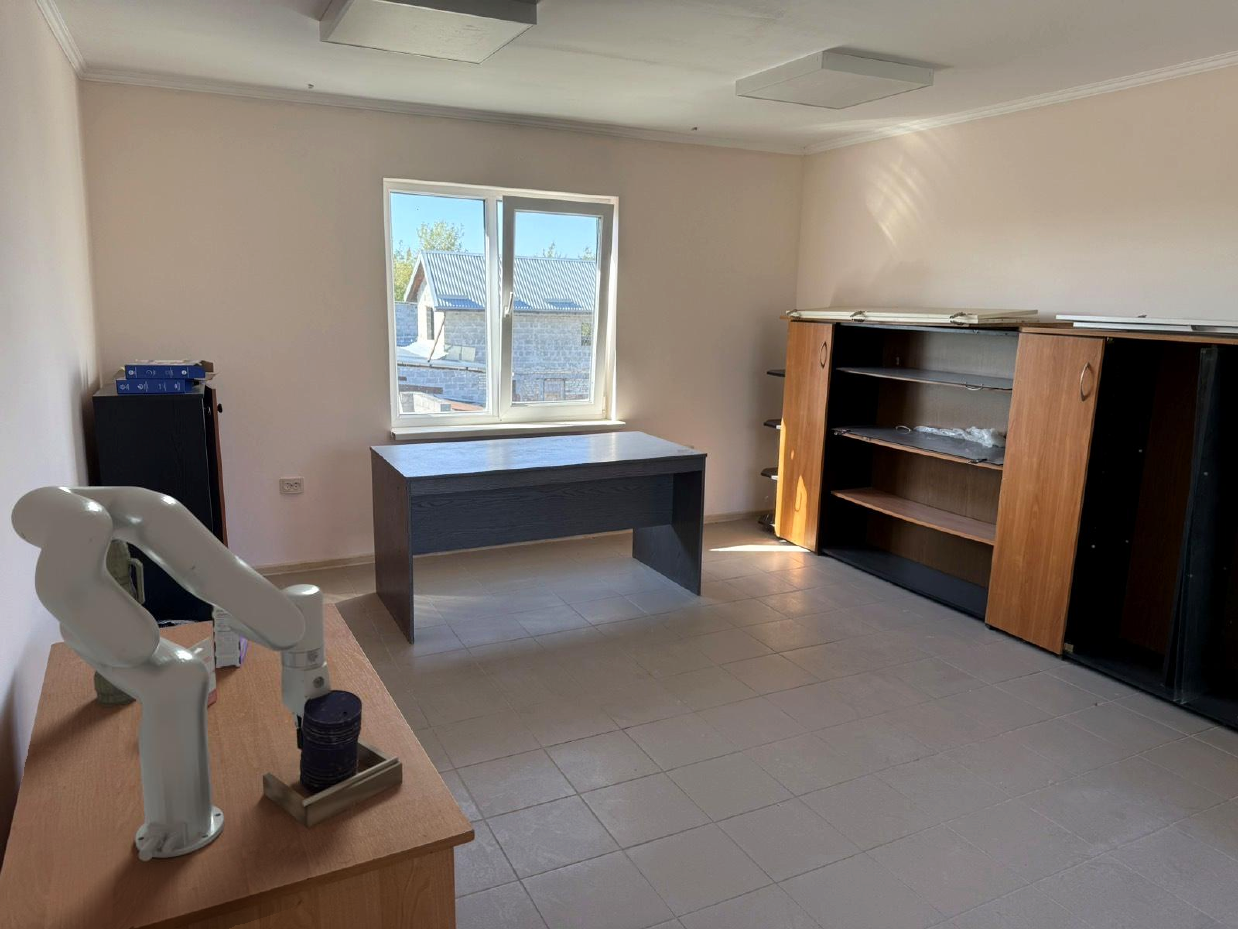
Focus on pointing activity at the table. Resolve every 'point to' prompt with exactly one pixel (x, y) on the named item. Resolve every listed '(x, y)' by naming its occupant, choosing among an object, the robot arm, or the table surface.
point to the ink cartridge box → (208, 658)
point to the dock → (338, 788)
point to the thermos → (120, 571)
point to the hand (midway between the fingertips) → (307, 746)
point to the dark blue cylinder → (330, 740)
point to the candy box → (226, 642)
